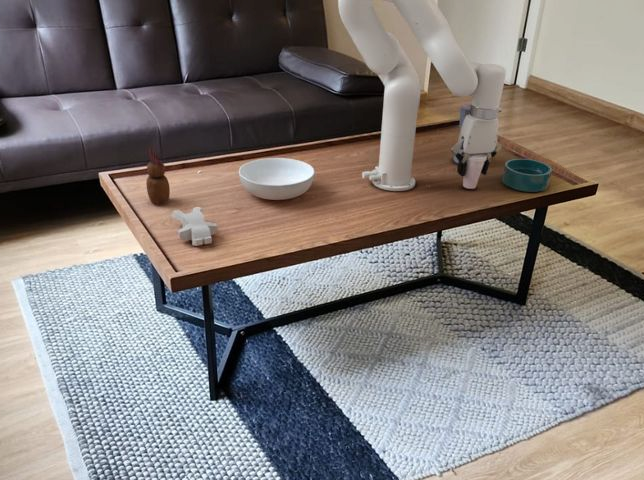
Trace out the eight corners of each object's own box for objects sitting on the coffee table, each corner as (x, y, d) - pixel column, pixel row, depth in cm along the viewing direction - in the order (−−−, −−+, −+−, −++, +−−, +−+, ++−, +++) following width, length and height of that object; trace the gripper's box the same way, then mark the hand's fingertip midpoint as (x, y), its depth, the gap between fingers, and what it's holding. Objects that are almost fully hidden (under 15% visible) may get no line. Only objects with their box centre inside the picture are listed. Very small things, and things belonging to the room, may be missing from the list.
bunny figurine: (183, 236, 148) (166, 204, 158) (184, 254, 151) (168, 222, 161) (222, 229, 151) (204, 198, 162) (223, 247, 155) (204, 216, 165)
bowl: (517, 195, 184) (521, 177, 181) (493, 178, 195) (496, 160, 192) (556, 190, 188) (561, 173, 185) (531, 174, 198) (534, 157, 195)
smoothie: (483, 185, 188) (493, 139, 181) (475, 192, 183) (485, 145, 176) (462, 180, 191) (471, 134, 183) (454, 186, 186) (463, 139, 179)
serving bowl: (322, 184, 187) (323, 161, 183) (301, 213, 169) (301, 189, 166) (255, 175, 191) (254, 153, 187) (227, 203, 174) (226, 179, 170)
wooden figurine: (146, 198, 175) (140, 145, 167) (168, 195, 177) (162, 142, 169) (150, 208, 170) (143, 153, 162) (172, 205, 171) (167, 151, 163)
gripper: (504, 107, 181) (491, 167, 191) (448, 109, 176) (438, 170, 186) (518, 115, 175) (504, 177, 185) (462, 117, 170) (450, 181, 180)
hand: (471, 173), depth 185 cm, fingers closed on smoothie, 6 cm apart
